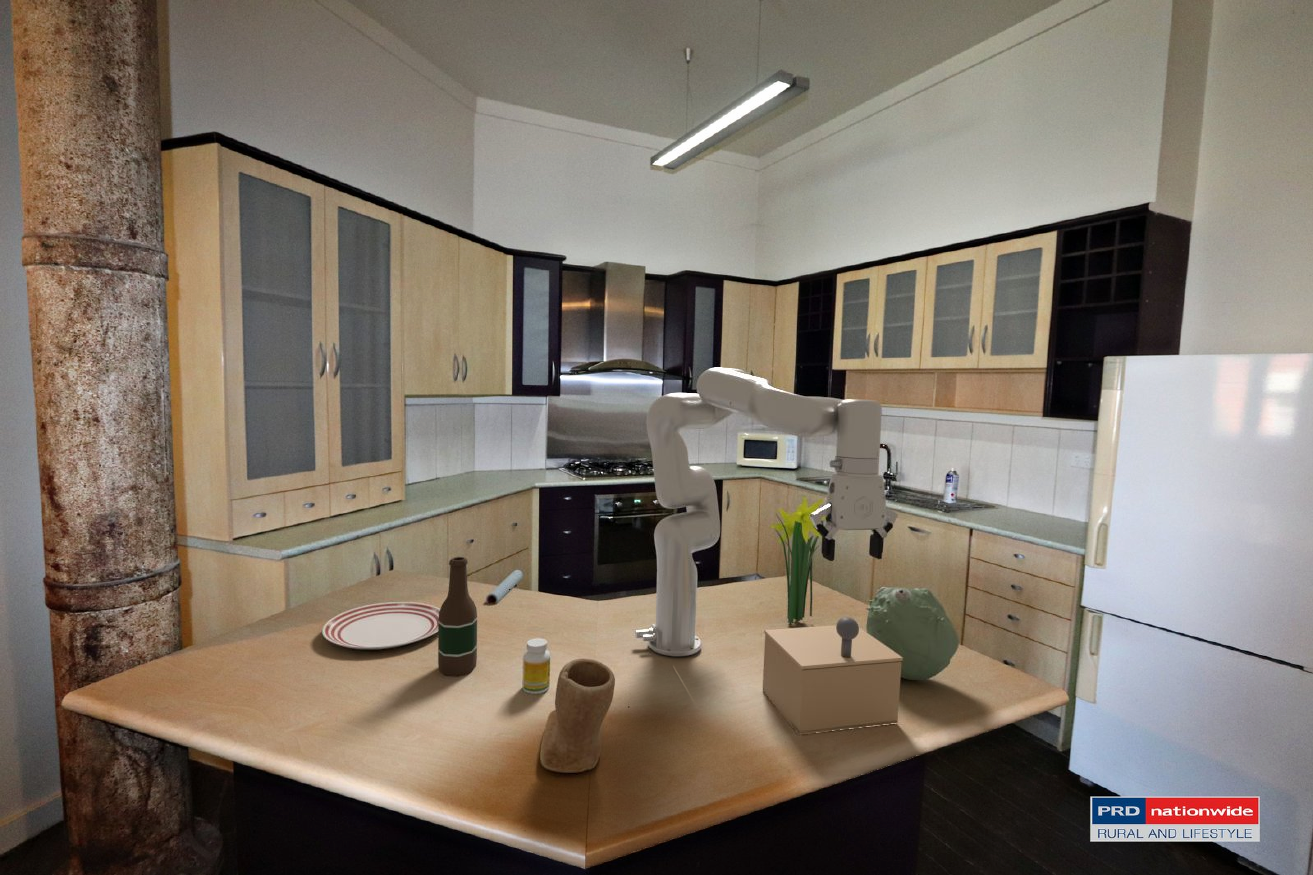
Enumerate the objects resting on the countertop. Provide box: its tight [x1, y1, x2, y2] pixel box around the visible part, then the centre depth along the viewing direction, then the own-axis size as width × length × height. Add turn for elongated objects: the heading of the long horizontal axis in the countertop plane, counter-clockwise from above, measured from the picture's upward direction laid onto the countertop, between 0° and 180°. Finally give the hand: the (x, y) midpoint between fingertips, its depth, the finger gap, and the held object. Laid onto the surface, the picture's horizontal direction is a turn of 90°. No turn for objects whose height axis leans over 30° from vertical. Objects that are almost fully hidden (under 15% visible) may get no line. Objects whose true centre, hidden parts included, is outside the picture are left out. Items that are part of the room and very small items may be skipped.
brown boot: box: [539, 658, 616, 774], centre depth 99 cm, size 15×12×15 cm
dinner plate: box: [321, 601, 441, 650], centre depth 143 cm, size 28×27×3 cm
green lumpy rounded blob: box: [865, 586, 960, 681], centre depth 129 cm, size 16×19×20 cm
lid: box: [763, 616, 903, 669], centre depth 114 cm, size 20×16×8 cm
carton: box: [762, 633, 902, 736], centre depth 115 cm, size 20×16×12 cm
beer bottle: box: [437, 556, 478, 678], centre depth 125 cm, size 8×8×24 cm
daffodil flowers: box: [769, 495, 826, 624], centre depth 159 cm, size 17×15×35 cm
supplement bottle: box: [522, 637, 551, 695], centre depth 119 cm, size 5×5×10 cm
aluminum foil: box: [485, 569, 524, 605], centre depth 175 cm, size 23×7×3 cm, turn 175°
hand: (851, 558), depth 110 cm, fingers open, 9 cm apart
